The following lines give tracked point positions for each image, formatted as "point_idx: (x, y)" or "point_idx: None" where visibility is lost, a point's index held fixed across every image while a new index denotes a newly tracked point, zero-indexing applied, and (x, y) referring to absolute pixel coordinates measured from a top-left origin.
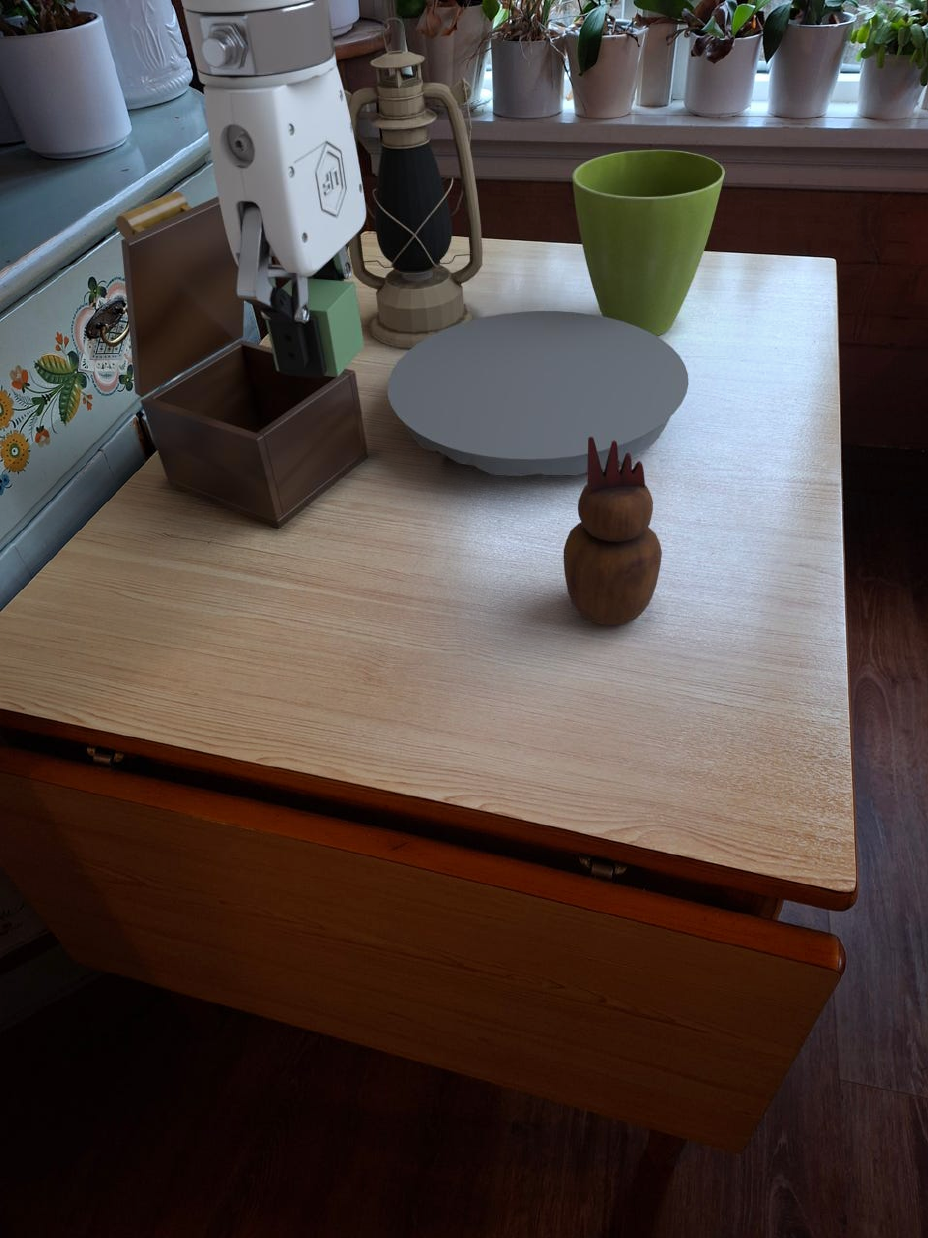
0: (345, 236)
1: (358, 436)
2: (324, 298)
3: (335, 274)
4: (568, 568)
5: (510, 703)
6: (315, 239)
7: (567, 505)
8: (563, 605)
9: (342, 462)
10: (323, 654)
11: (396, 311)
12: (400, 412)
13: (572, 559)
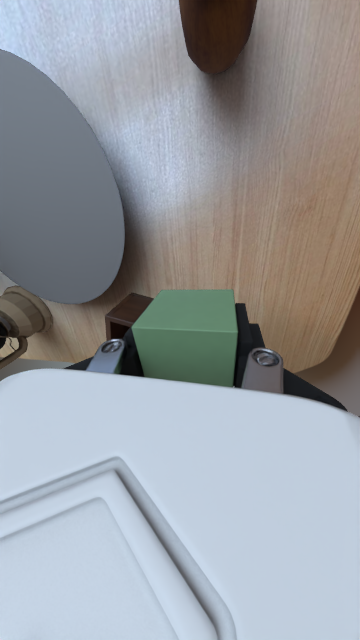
0: (118, 388)
1: (129, 299)
2: (195, 348)
3: (130, 356)
4: (243, 31)
5: (336, 79)
6: (318, 495)
7: (120, 145)
8: (222, 88)
9: (146, 300)
10: (289, 245)
11: (33, 322)
12: (108, 283)
13: (245, 14)
